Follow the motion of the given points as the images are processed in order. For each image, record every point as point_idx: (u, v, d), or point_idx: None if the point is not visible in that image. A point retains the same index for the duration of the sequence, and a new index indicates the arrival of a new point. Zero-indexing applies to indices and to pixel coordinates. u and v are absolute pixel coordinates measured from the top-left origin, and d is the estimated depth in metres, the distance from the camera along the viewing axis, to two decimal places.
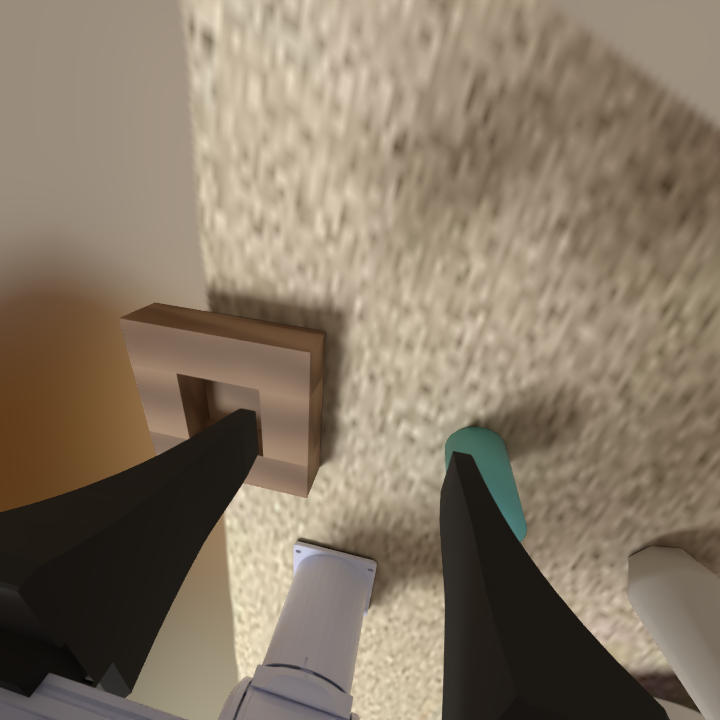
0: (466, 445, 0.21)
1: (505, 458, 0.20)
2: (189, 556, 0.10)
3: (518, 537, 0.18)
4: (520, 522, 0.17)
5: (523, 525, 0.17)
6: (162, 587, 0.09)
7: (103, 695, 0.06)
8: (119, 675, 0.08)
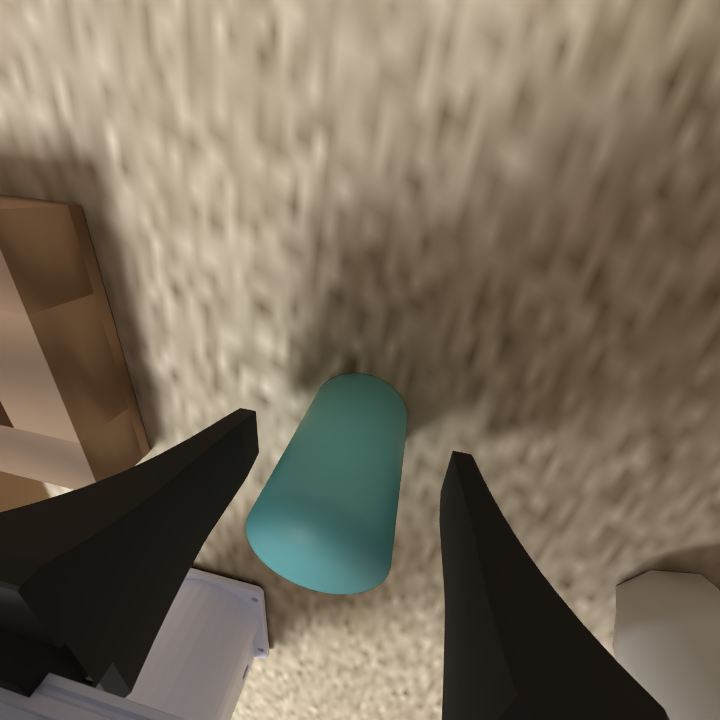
0: (324, 400, 0.12)
1: (387, 420, 0.11)
2: (189, 556, 0.10)
3: (379, 569, 0.09)
4: (374, 539, 0.08)
5: (381, 545, 0.08)
6: (162, 587, 0.09)
7: (103, 695, 0.06)
8: (119, 675, 0.08)
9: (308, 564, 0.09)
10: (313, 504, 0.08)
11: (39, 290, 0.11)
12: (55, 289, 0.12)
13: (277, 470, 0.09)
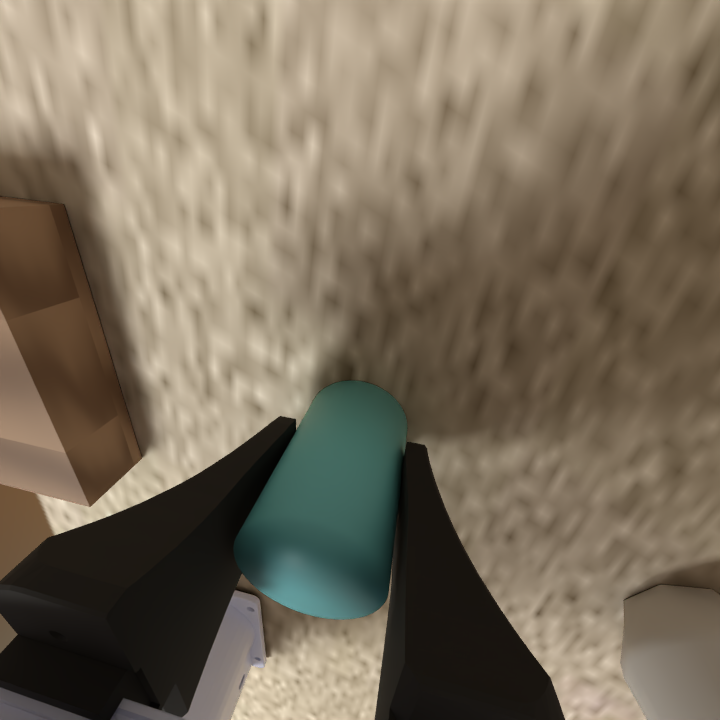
0: (319, 409, 0.11)
1: (385, 431, 0.11)
2: (238, 569, 0.10)
3: (376, 595, 0.08)
4: (370, 565, 0.08)
5: (378, 571, 0.08)
6: (216, 603, 0.08)
7: None
8: (180, 695, 0.07)
9: (300, 589, 0.09)
10: (304, 527, 0.07)
11: (19, 294, 0.11)
12: (36, 293, 0.11)
13: (268, 487, 0.09)
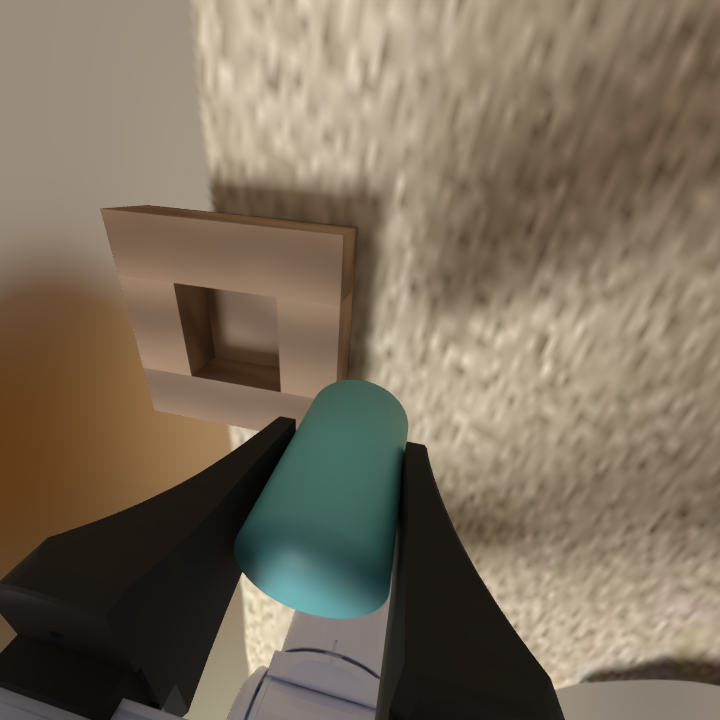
0: (320, 408, 0.11)
1: (386, 431, 0.11)
2: (238, 569, 0.10)
3: (377, 594, 0.08)
4: (371, 564, 0.08)
5: (379, 570, 0.08)
6: (216, 602, 0.08)
7: None
8: (179, 695, 0.07)
9: (301, 587, 0.09)
10: (306, 526, 0.07)
11: (343, 288, 0.16)
12: (346, 288, 0.17)
13: (268, 486, 0.09)
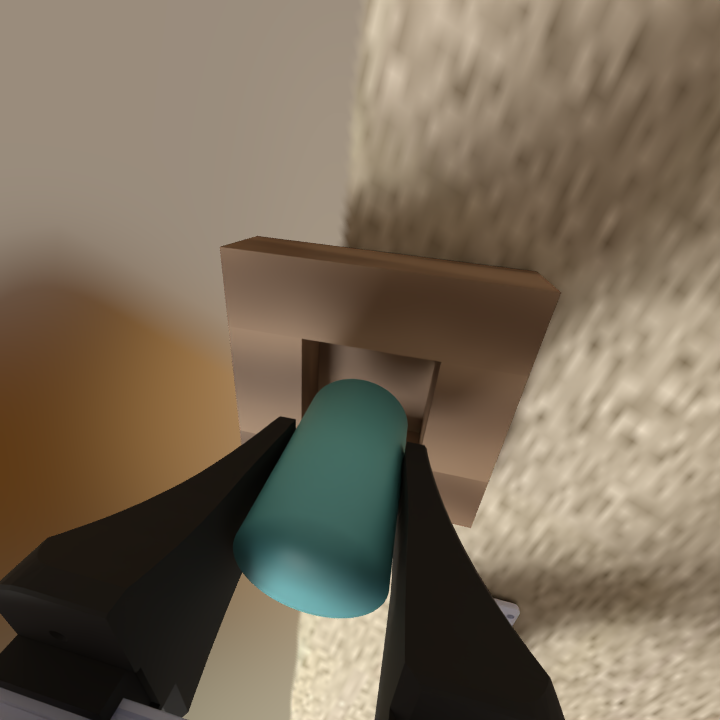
0: (319, 408, 0.11)
1: (385, 430, 0.11)
2: (238, 569, 0.10)
3: (376, 594, 0.08)
4: (370, 563, 0.08)
5: (378, 570, 0.08)
6: (216, 603, 0.08)
7: None
8: (179, 695, 0.07)
9: (300, 587, 0.09)
10: (305, 526, 0.07)
11: None
12: None
13: (267, 486, 0.09)
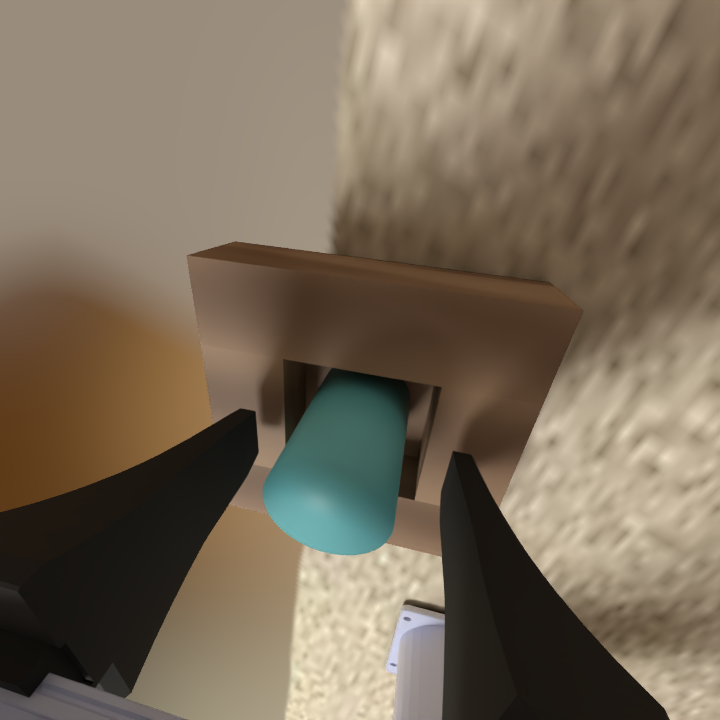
0: (332, 381, 0.13)
1: (391, 400, 0.12)
2: (189, 556, 0.10)
3: (383, 529, 0.10)
4: (379, 500, 0.09)
5: (386, 506, 0.09)
6: (162, 587, 0.09)
7: (103, 695, 0.06)
8: (119, 675, 0.08)
9: (319, 526, 0.10)
10: (325, 468, 0.09)
11: None
12: None
13: (291, 441, 0.10)
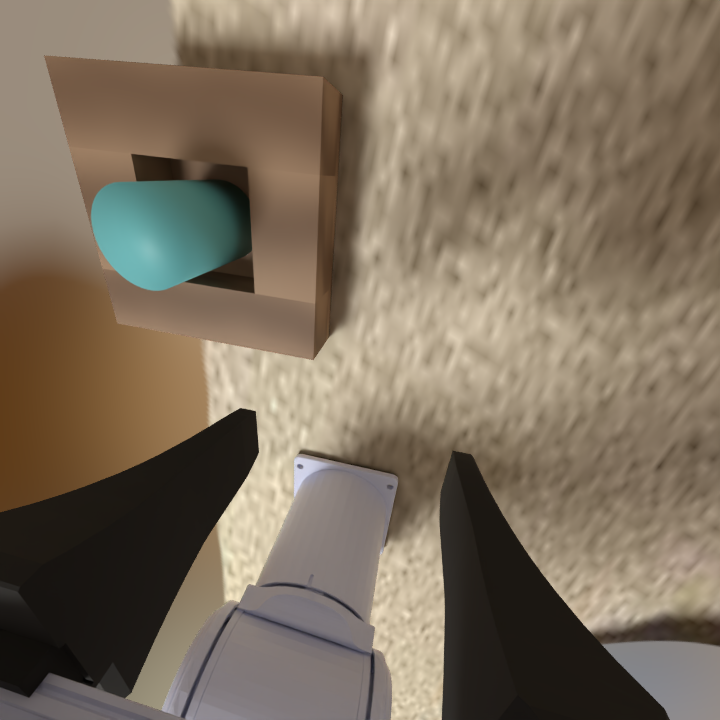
0: None
1: (220, 194, 0.15)
2: (189, 556, 0.10)
3: (179, 252, 0.13)
4: (168, 219, 0.12)
5: (173, 225, 0.12)
6: (162, 587, 0.09)
7: (103, 695, 0.06)
8: (119, 675, 0.08)
9: (138, 260, 0.13)
10: (125, 190, 0.12)
11: (324, 157, 0.14)
12: (327, 161, 0.15)
13: None
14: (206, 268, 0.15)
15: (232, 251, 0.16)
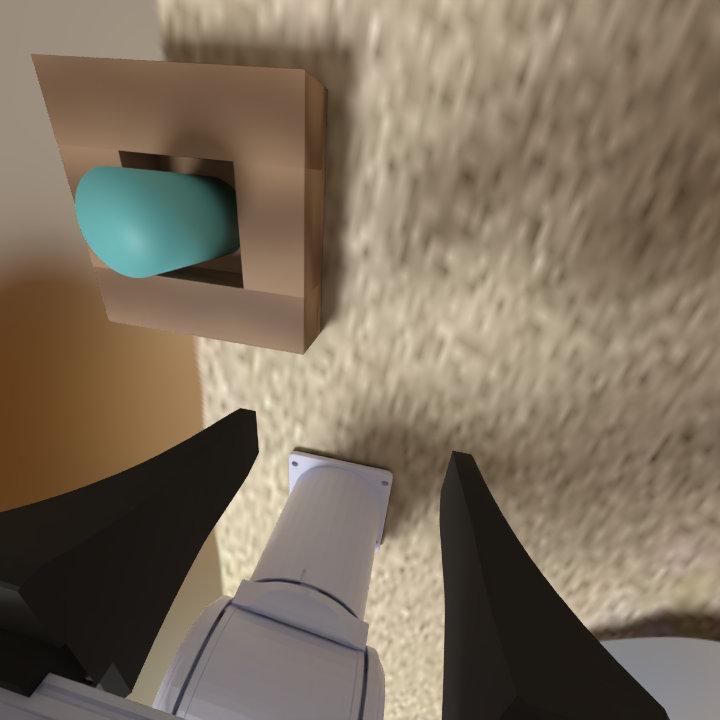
0: None
1: (210, 188, 0.15)
2: (189, 556, 0.10)
3: (163, 239, 0.13)
4: (153, 205, 0.12)
5: (158, 211, 0.12)
6: (161, 587, 0.09)
7: (103, 695, 0.06)
8: (119, 675, 0.08)
9: (121, 246, 0.13)
10: (111, 174, 0.12)
11: (309, 151, 0.14)
12: (313, 154, 0.15)
13: None
14: (191, 259, 0.15)
15: (219, 245, 0.16)
